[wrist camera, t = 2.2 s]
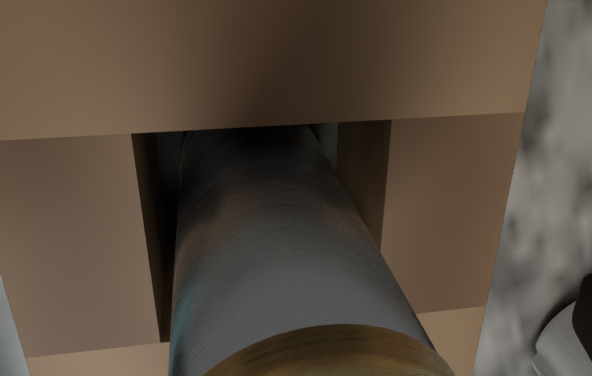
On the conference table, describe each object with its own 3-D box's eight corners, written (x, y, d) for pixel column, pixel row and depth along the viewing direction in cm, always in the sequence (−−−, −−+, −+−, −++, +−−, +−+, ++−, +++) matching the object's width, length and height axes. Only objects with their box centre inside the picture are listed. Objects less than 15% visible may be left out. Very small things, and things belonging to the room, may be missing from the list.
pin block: (456, -50, 11) (555, -39, 8) (413, 295, 15) (468, 390, 12) (-2, -48, 10) (-90, -34, 7) (82, 331, 14) (51, 447, 11)
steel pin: (320, 88, 12) (559, 403, 4) (317, 216, 14) (491, 628, 6) (171, 95, 12) (122, 467, 4) (184, 226, 13) (170, 696, 5)
